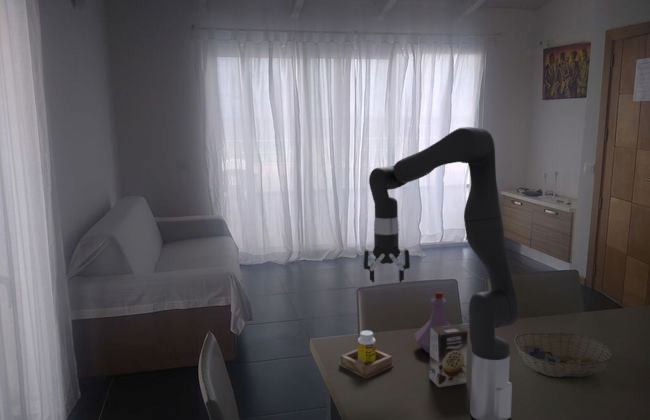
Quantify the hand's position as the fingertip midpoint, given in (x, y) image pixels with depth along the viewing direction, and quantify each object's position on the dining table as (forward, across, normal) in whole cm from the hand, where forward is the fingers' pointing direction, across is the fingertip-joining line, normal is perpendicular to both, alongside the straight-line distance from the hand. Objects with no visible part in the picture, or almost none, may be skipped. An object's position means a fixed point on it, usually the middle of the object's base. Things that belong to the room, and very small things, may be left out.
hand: (386, 281), depth 161 cm
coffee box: (+27, -17, +13) cm, 34 cm away
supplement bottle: (+26, +7, +4) cm, 27 cm away
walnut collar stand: (+26, +7, +4) cm, 27 cm away
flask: (+26, -18, -8) cm, 33 cm away
